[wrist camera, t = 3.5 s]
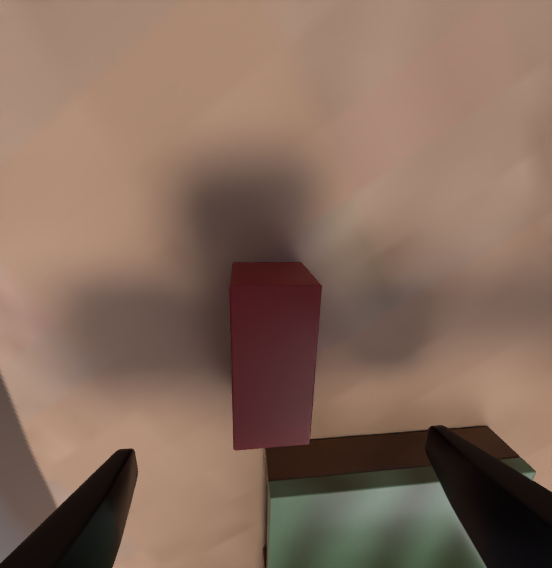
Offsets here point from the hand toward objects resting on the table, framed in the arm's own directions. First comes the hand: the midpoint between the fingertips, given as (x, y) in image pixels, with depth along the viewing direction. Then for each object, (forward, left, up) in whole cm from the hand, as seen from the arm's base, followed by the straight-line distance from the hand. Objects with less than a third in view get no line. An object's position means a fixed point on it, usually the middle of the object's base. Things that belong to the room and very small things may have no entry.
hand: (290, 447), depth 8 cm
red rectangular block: (0, 0, -8) cm, 8 cm away
